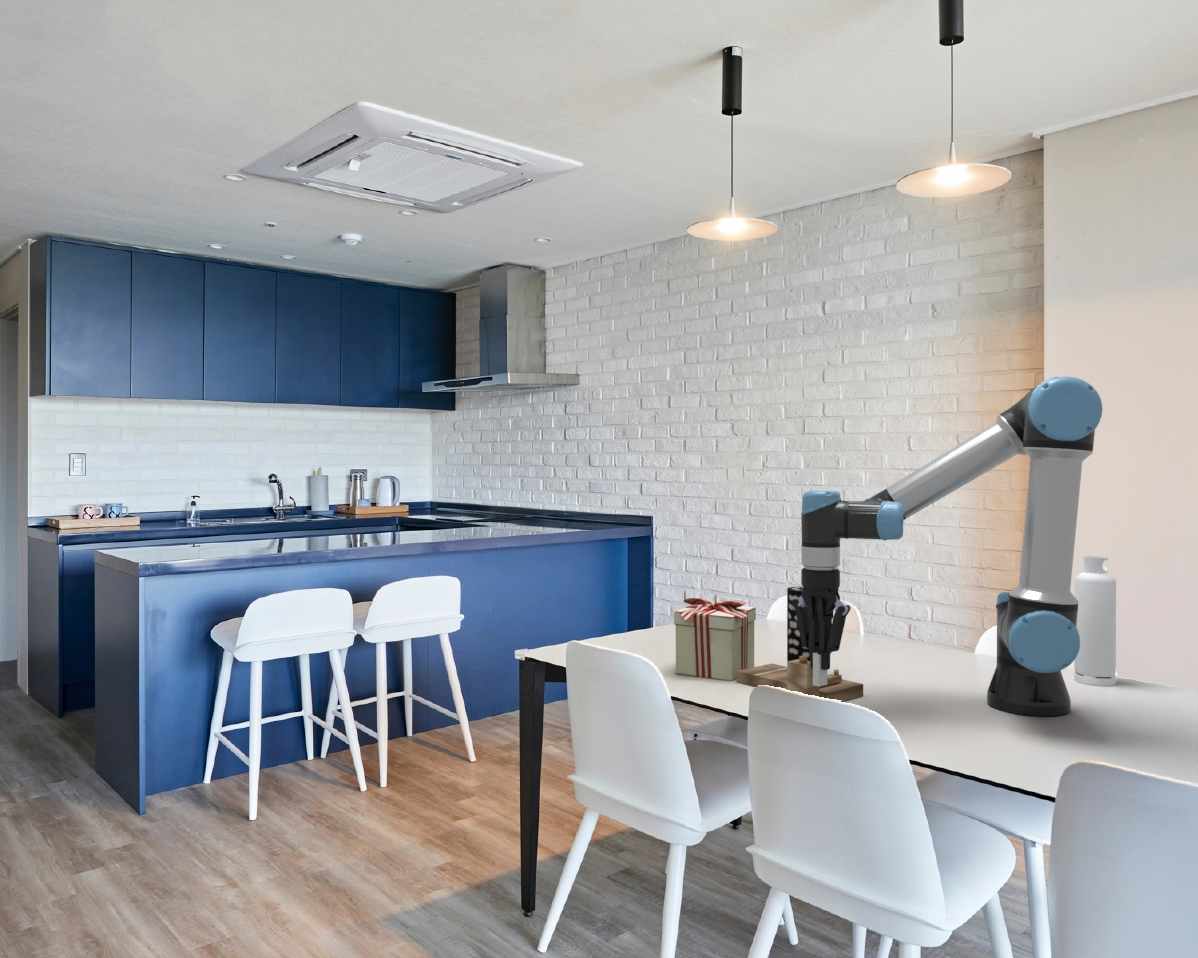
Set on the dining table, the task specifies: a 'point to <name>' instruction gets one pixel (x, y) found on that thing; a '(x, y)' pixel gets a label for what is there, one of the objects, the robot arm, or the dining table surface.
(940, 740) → the dining table surface
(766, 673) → the board
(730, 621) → the gift box
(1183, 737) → the dining table surface
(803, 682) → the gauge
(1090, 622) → the bottle
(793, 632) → the spotted tube
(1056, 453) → the robot arm
